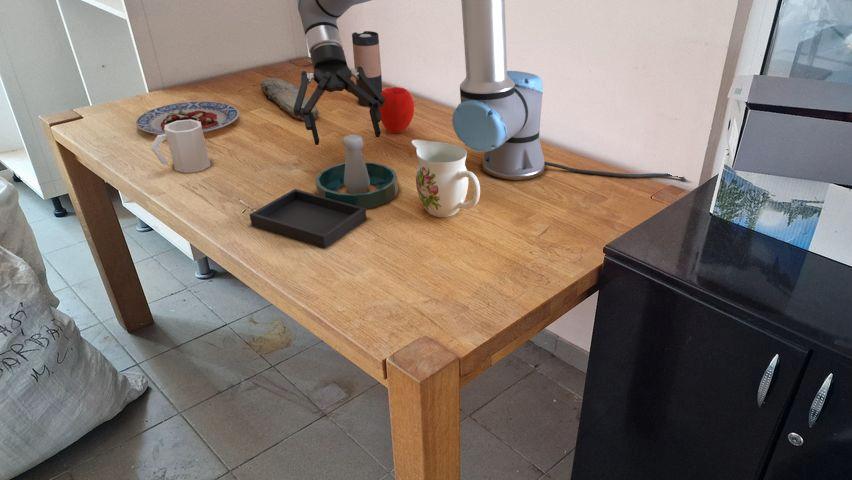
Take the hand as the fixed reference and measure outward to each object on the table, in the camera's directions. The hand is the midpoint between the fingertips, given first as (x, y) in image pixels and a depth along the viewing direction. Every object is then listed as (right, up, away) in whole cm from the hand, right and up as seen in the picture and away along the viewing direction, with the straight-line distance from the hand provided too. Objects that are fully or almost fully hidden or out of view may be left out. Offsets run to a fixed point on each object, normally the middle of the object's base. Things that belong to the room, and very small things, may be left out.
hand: (348, 138), depth 144 cm
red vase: (+5, +9, +34) cm, 36 cm away
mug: (-41, -5, +10) cm, 43 cm away
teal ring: (+2, -11, +3) cm, 12 cm away
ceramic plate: (-51, +11, +34) cm, 62 cm away
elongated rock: (-29, +21, +50) cm, 62 cm away
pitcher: (+22, -17, -4) cm, 28 cm away
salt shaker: (+2, -12, +3) cm, 12 cm away
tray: (-6, -19, -10) cm, 22 cm away
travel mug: (-6, +22, +53) cm, 58 cm away
